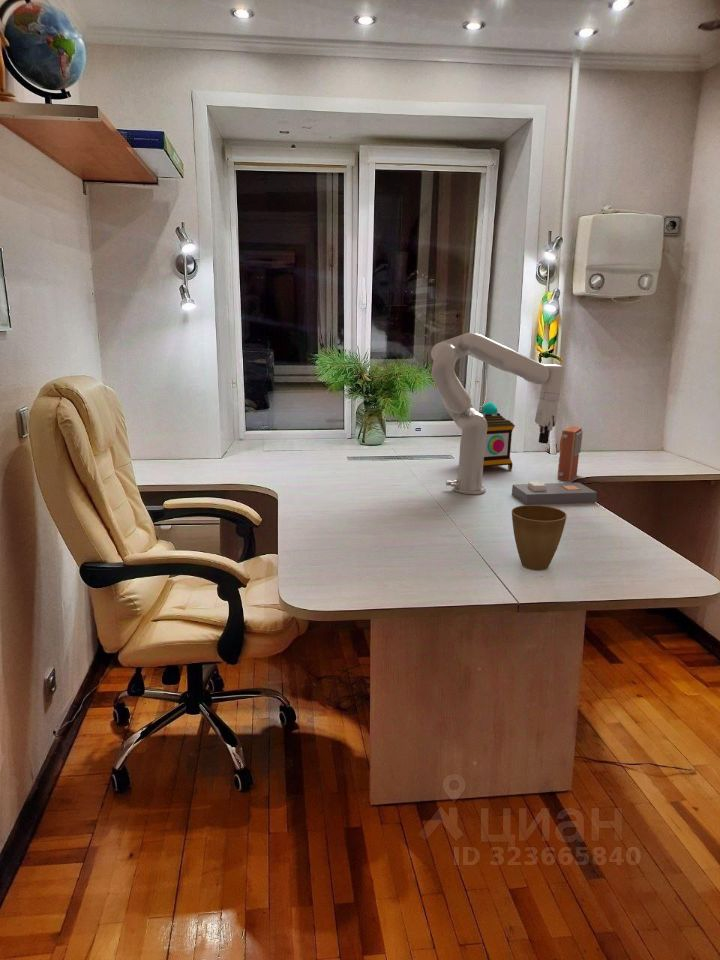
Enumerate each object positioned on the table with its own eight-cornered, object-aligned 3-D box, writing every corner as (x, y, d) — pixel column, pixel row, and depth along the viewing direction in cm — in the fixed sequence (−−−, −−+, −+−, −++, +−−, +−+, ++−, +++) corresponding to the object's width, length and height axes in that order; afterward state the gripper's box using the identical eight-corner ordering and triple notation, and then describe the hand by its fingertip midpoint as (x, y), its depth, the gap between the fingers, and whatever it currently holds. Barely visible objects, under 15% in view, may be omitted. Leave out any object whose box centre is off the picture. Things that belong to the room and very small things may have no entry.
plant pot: (551, 555, 195) (556, 504, 191) (568, 576, 180) (574, 521, 176) (501, 555, 194) (505, 504, 190) (514, 575, 180) (519, 520, 176)
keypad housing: (526, 504, 244) (527, 494, 243) (511, 494, 257) (512, 484, 256) (595, 502, 249) (597, 492, 248) (577, 492, 262) (579, 482, 261)
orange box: (554, 479, 281) (563, 472, 293) (571, 482, 277) (579, 474, 290) (559, 430, 275) (568, 425, 288) (576, 432, 272) (584, 426, 284)
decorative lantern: (516, 471, 294) (522, 404, 286) (478, 474, 287) (483, 406, 279) (492, 461, 312) (496, 398, 304) (455, 464, 305) (459, 399, 297)
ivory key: (533, 493, 248) (534, 485, 248) (527, 489, 253) (528, 482, 252) (545, 493, 249) (546, 485, 248) (540, 489, 254) (540, 481, 253)
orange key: (567, 496, 251) (568, 489, 250) (561, 493, 256) (562, 485, 255) (579, 496, 252) (580, 489, 251) (573, 492, 257) (573, 485, 256)
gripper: (533, 393, 261) (527, 438, 266) (548, 399, 247) (541, 446, 252) (550, 394, 262) (544, 439, 267) (567, 399, 248) (560, 447, 253)
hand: (543, 442), depth 259 cm, fingers closed
